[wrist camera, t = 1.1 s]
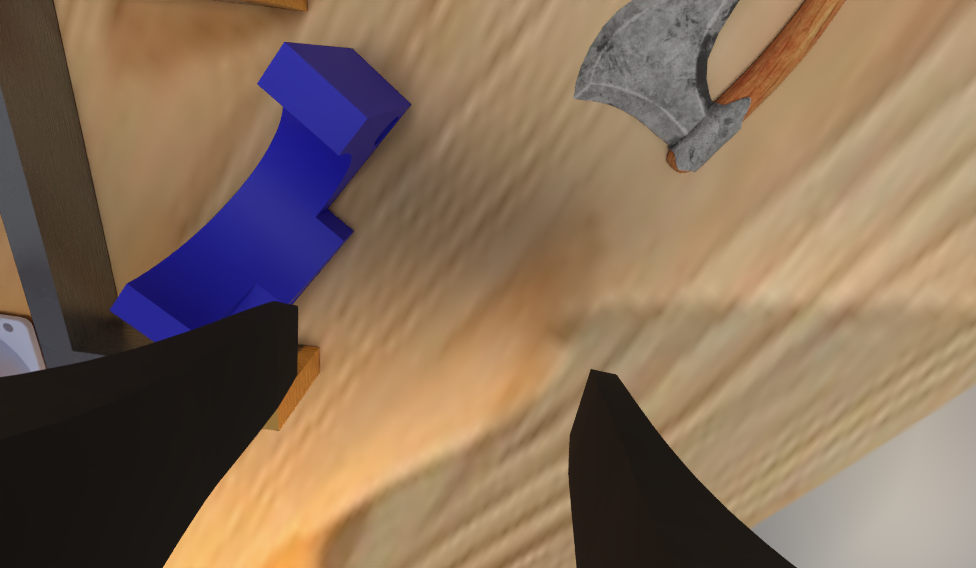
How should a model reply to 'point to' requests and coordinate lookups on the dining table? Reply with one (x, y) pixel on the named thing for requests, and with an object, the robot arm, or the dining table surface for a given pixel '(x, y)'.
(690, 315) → the dining table surface
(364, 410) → the dining table surface
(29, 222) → the keeper cradle
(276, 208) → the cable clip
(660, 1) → the axe
